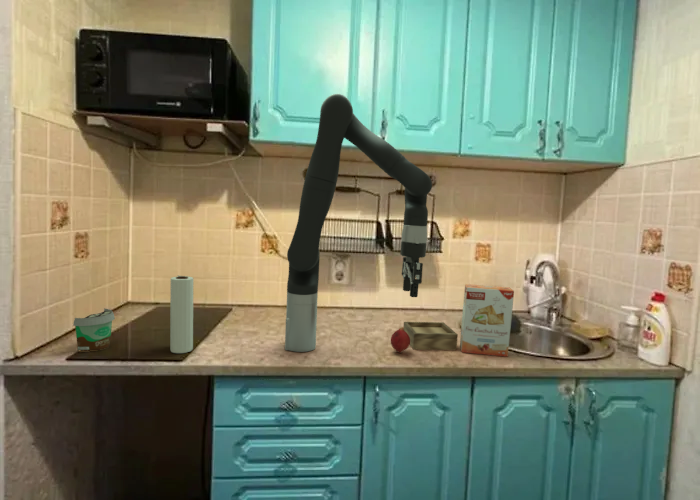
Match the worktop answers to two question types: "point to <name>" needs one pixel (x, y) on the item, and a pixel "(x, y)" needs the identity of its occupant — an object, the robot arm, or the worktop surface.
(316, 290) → the robot arm
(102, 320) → the food container
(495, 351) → the cracker box
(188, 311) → the paper towel roll
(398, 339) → the onion
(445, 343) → the tray
